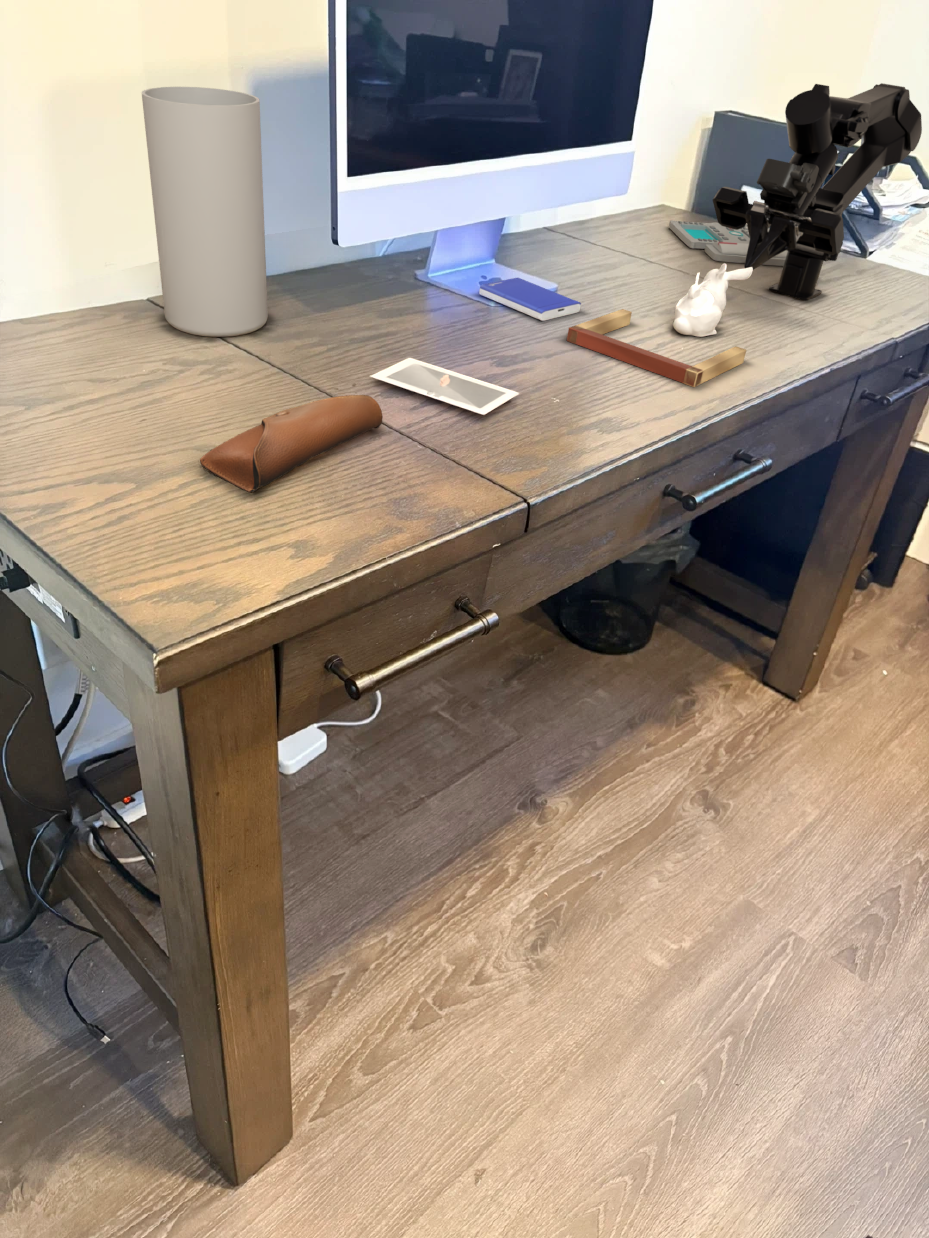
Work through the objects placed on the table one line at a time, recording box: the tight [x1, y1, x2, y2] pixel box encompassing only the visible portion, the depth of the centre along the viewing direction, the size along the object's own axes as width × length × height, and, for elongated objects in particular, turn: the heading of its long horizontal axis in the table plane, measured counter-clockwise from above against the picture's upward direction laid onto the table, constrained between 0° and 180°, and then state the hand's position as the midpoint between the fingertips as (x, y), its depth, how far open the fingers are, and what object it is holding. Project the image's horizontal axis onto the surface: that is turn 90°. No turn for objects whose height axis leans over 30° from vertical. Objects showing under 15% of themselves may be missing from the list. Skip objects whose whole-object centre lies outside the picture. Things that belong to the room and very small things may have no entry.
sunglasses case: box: [199, 394, 384, 493], centre depth 89 cm, size 18×7×7 cm, turn 147°
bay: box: [566, 308, 747, 388], centre depth 121 cm, size 13×19×2 cm
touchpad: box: [369, 357, 520, 416], centre depth 104 cm, size 8×15×2 cm, turn 58°
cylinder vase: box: [141, 86, 269, 338], centre depth 110 cm, size 12×12×25 cm
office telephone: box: [668, 219, 788, 267], centre depth 170 cm, size 23×3×20 cm
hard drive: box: [479, 277, 582, 322], centre depth 133 cm, size 2×8×12 cm
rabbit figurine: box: [672, 262, 754, 338], centre depth 127 cm, size 12×8×10 cm, turn 135°
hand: (746, 269), depth 132 cm, fingers closed
